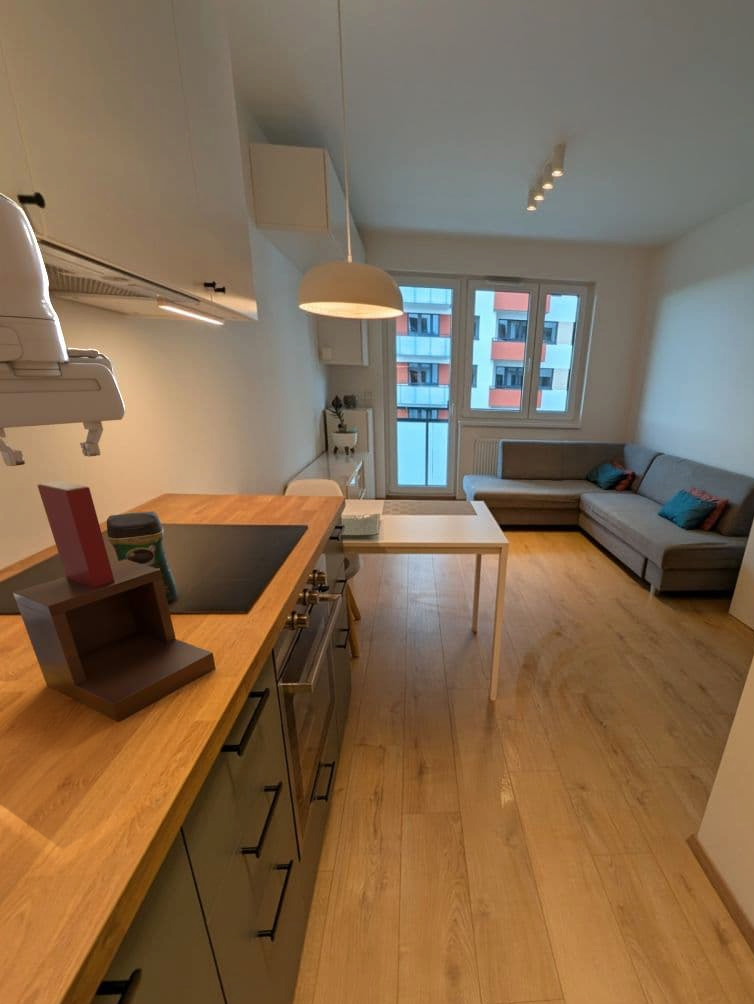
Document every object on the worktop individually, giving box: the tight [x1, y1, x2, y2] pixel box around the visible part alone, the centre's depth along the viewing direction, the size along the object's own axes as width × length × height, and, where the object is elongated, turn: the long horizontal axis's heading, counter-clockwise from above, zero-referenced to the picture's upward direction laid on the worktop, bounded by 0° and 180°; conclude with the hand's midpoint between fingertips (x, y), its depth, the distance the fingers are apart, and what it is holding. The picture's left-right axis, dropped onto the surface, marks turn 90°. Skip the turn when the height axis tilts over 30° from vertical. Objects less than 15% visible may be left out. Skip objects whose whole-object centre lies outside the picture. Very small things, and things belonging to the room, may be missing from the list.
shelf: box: [12, 559, 216, 723], centre depth 77 cm, size 18×16×16 cm
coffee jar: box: [106, 511, 179, 604], centre depth 102 cm, size 10×8×19 cm
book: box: [37, 480, 114, 588], centre depth 73 cm, size 7×3×14 cm, turn 63°
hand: (56, 460), depth 68 cm, fingers open, 8 cm apart
